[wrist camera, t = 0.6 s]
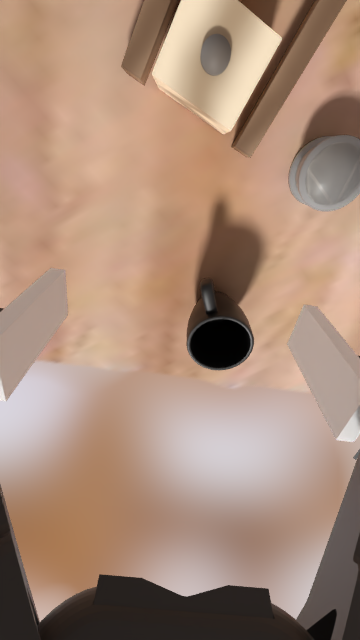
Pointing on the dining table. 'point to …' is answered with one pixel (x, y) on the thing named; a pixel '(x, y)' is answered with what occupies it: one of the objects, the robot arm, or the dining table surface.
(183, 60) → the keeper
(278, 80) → the channel
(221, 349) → the mug
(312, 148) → the gray yo-yo
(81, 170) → the dining table surface
